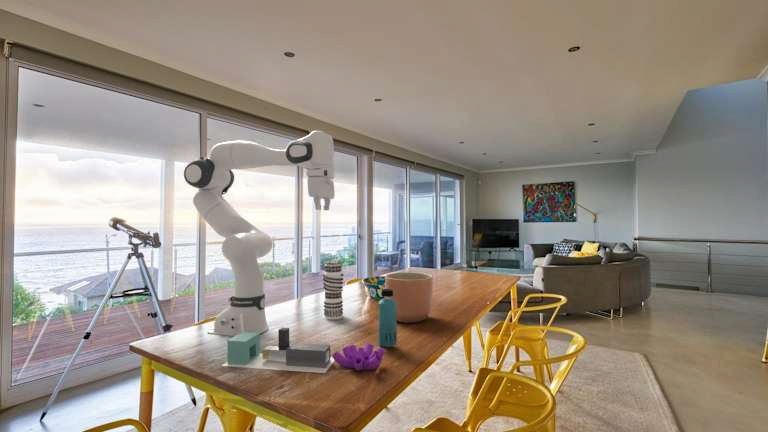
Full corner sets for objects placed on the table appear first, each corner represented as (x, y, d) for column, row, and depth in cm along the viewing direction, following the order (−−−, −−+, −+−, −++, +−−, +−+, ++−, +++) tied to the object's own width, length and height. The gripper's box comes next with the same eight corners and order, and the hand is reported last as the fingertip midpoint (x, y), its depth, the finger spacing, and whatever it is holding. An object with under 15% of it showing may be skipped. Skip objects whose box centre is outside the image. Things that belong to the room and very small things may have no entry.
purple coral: (349, 371, 112) (362, 342, 116) (384, 386, 102) (397, 353, 106) (325, 357, 105) (340, 327, 110) (361, 372, 95) (376, 338, 99)
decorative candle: (333, 312, 168) (332, 259, 168) (348, 316, 162) (347, 260, 162) (318, 317, 160) (318, 261, 160) (333, 320, 155) (333, 263, 155)
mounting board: (221, 369, 106) (221, 365, 106) (242, 354, 117) (242, 351, 117) (324, 376, 101) (324, 372, 101) (336, 360, 112) (336, 357, 112)
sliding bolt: (262, 359, 108) (262, 329, 108) (267, 355, 111) (267, 326, 111) (326, 363, 105) (325, 332, 105) (329, 359, 108) (329, 329, 108)
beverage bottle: (383, 352, 118) (383, 292, 118) (374, 346, 124) (374, 288, 124) (400, 349, 121) (400, 290, 121) (391, 343, 127) (390, 286, 127)
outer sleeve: (286, 365, 106) (286, 348, 106) (293, 358, 111) (293, 342, 111) (325, 368, 104) (324, 350, 104) (330, 361, 109) (330, 344, 109)
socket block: (227, 363, 108) (227, 340, 108) (242, 353, 115) (242, 332, 115) (245, 365, 107) (245, 341, 107) (259, 354, 114) (259, 332, 114)
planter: (440, 317, 160) (440, 274, 160) (419, 329, 142) (419, 281, 142) (400, 310, 171) (400, 270, 171) (376, 321, 153) (375, 277, 153)
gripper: (323, 177, 147) (323, 210, 147) (304, 170, 127) (304, 209, 127) (338, 176, 146) (338, 210, 146) (321, 170, 126) (321, 209, 126)
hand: (322, 210), depth 137 cm, fingers open, 8 cm apart
